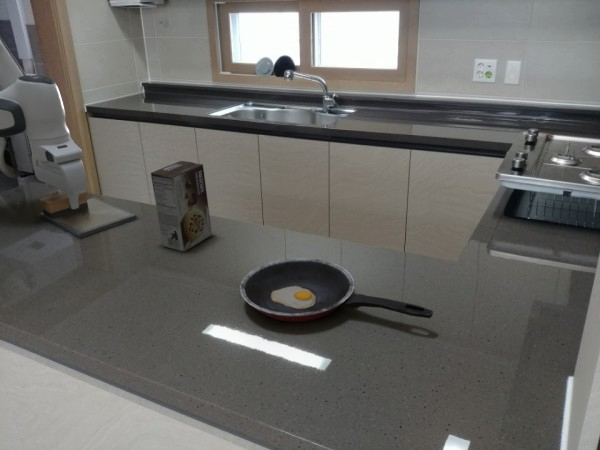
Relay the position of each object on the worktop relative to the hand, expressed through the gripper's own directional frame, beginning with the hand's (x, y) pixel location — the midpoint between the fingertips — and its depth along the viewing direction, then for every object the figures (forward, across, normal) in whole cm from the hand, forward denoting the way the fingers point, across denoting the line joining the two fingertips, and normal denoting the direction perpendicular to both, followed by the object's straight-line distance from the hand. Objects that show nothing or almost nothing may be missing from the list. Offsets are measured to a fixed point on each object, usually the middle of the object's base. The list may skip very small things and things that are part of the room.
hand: (65, 203), depth 129 cm
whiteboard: (+3, +6, +2) cm, 7 cm away
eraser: (+2, 0, 0) cm, 2 cm away
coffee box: (+3, +36, +9) cm, 37 cm away
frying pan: (+4, +77, +8) cm, 77 cm away
